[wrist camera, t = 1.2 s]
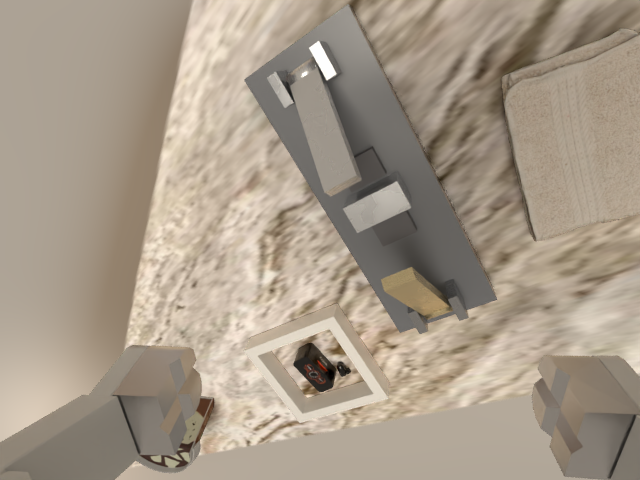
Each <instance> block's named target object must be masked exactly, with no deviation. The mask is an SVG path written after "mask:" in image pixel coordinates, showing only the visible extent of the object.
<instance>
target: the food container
mask: <svg viewBox="0 0 640 480" xmlns="http://www.w3.org/2000/svg"><path fill="white" fill-rule="evenodd" d="M213 407H214V398H212V397H203V396H201V397H200V402H199V405H198V407H197V410H196V412H195V414H194V415H193V416H191V417H190V418H189V419H187V420H186V421H185V423H186V427H187V432H186V434H185V436H184V438H183V440H182V442H181V444H180V446H179V449H178V451H177V453H176V455H175V456H172V455H139V458H138V459H137V460H136V461H138V462H139V463H141V464H142V465H144V466H146V467H148V468H150V469H153V470H155V471H159V472H164V473H177V472H180V471H183V470H185V469H186V468H187V467H188V466H190V465H191V463H192V462H193V461H194V460H195V459H196V457H197V456H198V454H199V452H200V439H201V436H202V434H203V431H204V429H205V427H206V424H207V422H208V419H209V417H210V414H211V412H212V410H213Z"/></svg>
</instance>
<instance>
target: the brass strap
mask: <svg viewBox="0 0 640 480" xmlns="http://www.w3.org/2000/svg"><path fill="white" fill-rule="evenodd" d="M381 281H382V285H383V288H384V292H386V293H388V294H389V295H391V296H392V297H394V298H396V299H397V300H399V301H401V302H402V303H404V304H405V305H407V306H409V307H410V308H412V309H414V310H415V311H417V312H418V313H420V314H422V315H423V316H424V317H425V318H426V319H427V320H428V319H431V318H434V317H437V316H439V315H442V314H445V313H448V312H451V311H453V308H452V306H451V304H450V303H449V301H448V298H447V295H446V296H445V295H444V294H442V293H441V292H440V291H439V290H438V289H437V288H436V287H434V286H433V285H432V284H431V283H430V282H429V281H427V280H426V279H425V278H424V277H423V276H422V275H421V274H419V273H418V272H417V271H416V270H415V269H414V268H413V267H410V268H408V269H405V270H403V271H400V272H398V273H395V274H393V275H390V276H388V277H385V278H383V279H381Z"/></svg>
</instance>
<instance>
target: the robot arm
mask: <svg viewBox="0 0 640 480" xmlns="http://www.w3.org/2000/svg"><path fill="white" fill-rule="evenodd" d="M195 362H196V357H195V354H194V350H193V349H191V348H189V347H172V346H142V345H132V346H130V347H128V348H126V350H125V351H124V352H123V353H122V355H121V356H120V357H119V358H118V360H117V361H116V362H115V363H114V364H113V366H112V367H111V368H110V369H109V371H108V372H107V373H106V374H105V376H104V377H103V378H102V379H101V380H100V382H99V383H98V384H97V385H96V387H95V388H94V389H93V390H92V392H91V393H90V394H89V395H81V396H80V397H78V398H76V399H75V400H73V401H71V402H69V403H68V404H66V405H64V406H63V407H61V408H59V409H57V410H56V411H54V412H52V413H50V414H49V415H47V416H45V417H43V418H42V419H40V420H38V421H37V422H35V423H33V424H31V425H30V426H28V427H26V428H24V429H23V430H21V431H19V432H18V433H16V434H14V435H12V436H11V437H9V438H7V439H5V440H4V441H2V442H0V480H115V479H116V478H117V477H118V476H119V475H120V474H121V473H122V472H124V471H125V470H126V469H127V468H128V467H129V466H130V465H131V464H132V463H133V462H134V461H136V460H137V459H138V458H139V455H172V456H175V455H176V453H177V451H178V449H179V446H180V444H181V442H182V440H183V438H184V436H185V434H186V432H187V427H186V423H185V421H186V420H187V419H189V418H190V417H191V416H193V415H194V414H195V412H196V410H197V407H198V405H199V402H200V397H201V392H202V384H201V378H200V374H199V373H198V372H197V371H196V370H195V369H194V368H193V366H194V364H195ZM538 370H539V372H540V374H541V376H542V378H541V379H540V380H539V381H537V382H536V383H535V384H534V387H533V393H532V403H533V410H534V413H535V416H536V419H537V421H538V424H539V426H540V428H541V429H542V430H544V431H545V432H546V433H547V434H549V435H550V436H551V437H552V440H551V443H550V448H551V450H552V453H553V454H554V456H555V458H556V460H557V463H558V465H559V466H560V468H561V471H562V473H563V475H564V476H565V477H578V478H590V479H603V480H640V377H639V376H638V375H637V373H636V372H635V371H634V370H633V369H632V368H631V367H630V365H629V364H628V363H627V362H626V361H625V360H624V359H622V358H621V357H619V356H552V355H544V356H543V357H542V358H541V360H540V362H539V366H538Z"/></svg>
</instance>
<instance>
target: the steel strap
mask: <svg viewBox="0 0 640 480" xmlns="http://www.w3.org/2000/svg"><path fill="white" fill-rule="evenodd" d="M286 79H287V82H288V84H289V86H290V88H291V91H292V94H293V97H294V101H295V104H296V107H297V110H298V113H299V116H300V119H301V122H302V125H303V128H304V131H305V135H306V138H307V141H308V144H309V147H310V150H311V153H312V156H313V159H314V162H315V166H316V169H317V172H318V175H319V178H320V181H321V184H322V187H323V190H324V193H326V194H328V195H329V196H333V195H335V194H337V193H339V192H341V191H343V190H345V189H346V188H348V187H350V186H352V185H354V184H356V183H358V182H360V181H362V178H361V175H360V172H359V169H358V167H357V164H356V161H355V159H354V156H353V153H352V150H351V148H350V145H349V142H348V140H347V137H346V134H345V131H344V129H343V126H342V123H341V121H340V118H339V115H338V112H337V110H336V107H335V104H334V102H333V99H332V96H331V93H330V91H329V88H328V85H327V83H326V80H325V77H324V74H323V72H322V71H321V69H320V67H319V65H318V63H317V62H316V60H315V58H314V56H313V57H312V58H310V59H309V60H307V61H306V62H304V63H303V64H302V65H300V66H299V67H297V68H296V69H294V70H293V71H292V72H290V73H289V74H287V75H286Z"/></svg>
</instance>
